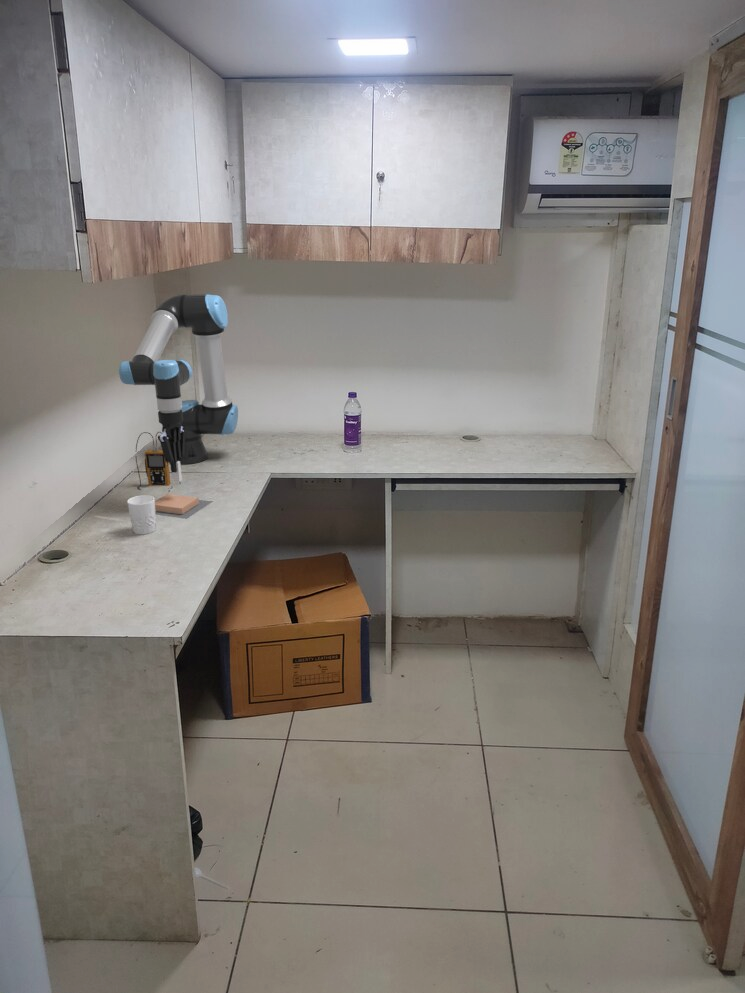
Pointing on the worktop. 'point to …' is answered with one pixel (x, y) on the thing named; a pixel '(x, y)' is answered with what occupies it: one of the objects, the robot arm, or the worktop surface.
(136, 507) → the white cup
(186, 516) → the mat
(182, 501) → the tile
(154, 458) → the multimeter
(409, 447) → the worktop surface
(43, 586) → the worktop surface
